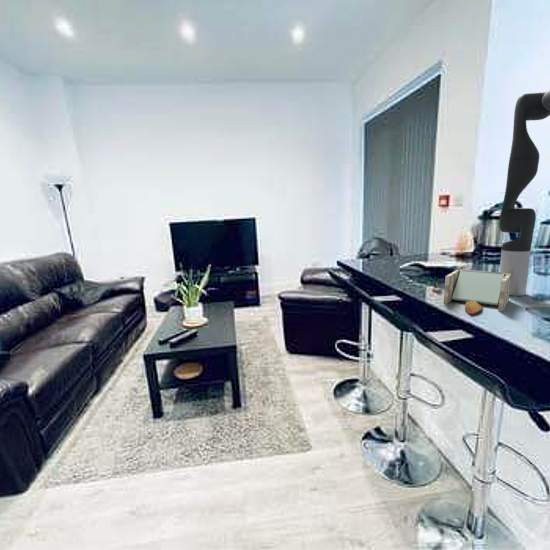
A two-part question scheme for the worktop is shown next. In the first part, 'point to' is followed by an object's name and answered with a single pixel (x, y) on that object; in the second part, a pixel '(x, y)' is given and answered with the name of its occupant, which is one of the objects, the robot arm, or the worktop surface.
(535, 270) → the worktop surface
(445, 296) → the trapdoor frame
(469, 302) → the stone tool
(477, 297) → the trapdoor
